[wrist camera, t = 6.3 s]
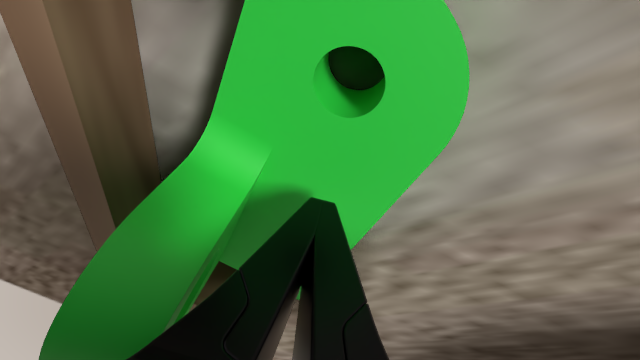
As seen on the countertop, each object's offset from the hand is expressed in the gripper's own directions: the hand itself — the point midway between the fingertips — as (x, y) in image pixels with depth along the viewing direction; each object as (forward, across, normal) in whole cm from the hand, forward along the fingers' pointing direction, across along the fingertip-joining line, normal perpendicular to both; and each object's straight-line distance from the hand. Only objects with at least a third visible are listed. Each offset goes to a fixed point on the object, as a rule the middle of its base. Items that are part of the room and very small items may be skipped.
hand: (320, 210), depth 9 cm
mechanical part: (+3, +1, 0) cm, 3 cm away
